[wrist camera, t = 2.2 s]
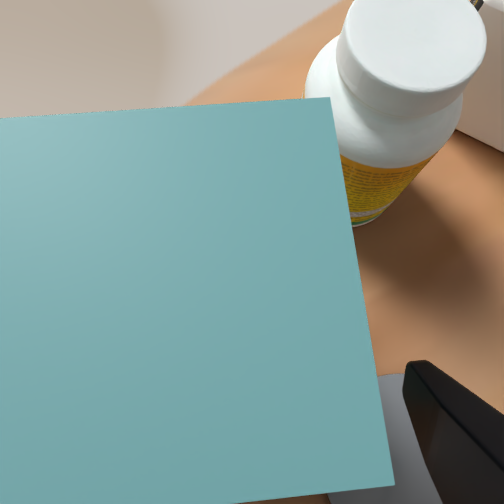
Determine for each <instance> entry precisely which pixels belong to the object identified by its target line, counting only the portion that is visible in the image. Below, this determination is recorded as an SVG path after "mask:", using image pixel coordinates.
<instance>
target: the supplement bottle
mask: <svg viewBox="0 0 504 504" xmlns="http://www.w3.org/2000/svg"><path fill="white" fill-rule="evenodd" d="M486 46H487V35H486V30H485V26H484V23H483V21H482V18H481V17H480V15H479V13H478V12H477V10H476V9H475V7H474V6H473V5H472V4H471V3H470V1H469V0H354V2H353V3H352V5H351V7H350V8H349V11H348V13H347V16H346V19H345V22H344V25H343V28H342V31H341V34H340V35H338V36H337V37H335V38H334V39H333V40H331V41H330V42H329V43H328V44H327V45H326V46H325V47H324V48H323V49H322V50H321V51H320V52H319V54H318V55H317V57H316V58H315V60H314V61H313V63H312V65H311V67H310V70H309V73H308V75H307V79H306V83H305V86H304V90H303V95H302V99H305V98H320V97H330V100H331V106H332V111H333V117H334V123H335V129H336V135H337V141H338V147H339V153H340V159H341V165H342V171H343V177H344V183H345V189H346V195H347V201H348V207H349V213H350V219H351V225H352V227H356V226H360V225H364V224H366V223H368V222H371V221H373V220H374V219H376V218H377V217H378V216H380V215H381V214H382V213H383V212H384V211H385V210H386V209H387V208H388V207H389V206H390V204H391V203H392V202H393V201H394V200H395V199H396V198H397V197H398V196H399V195H400V194H401V192H402V191H403V190H404V189H405V188H406V187H407V186H408V185H409V184H410V182H411V181H412V180H413V179H414V178H415V177H416V176H417V174H418V173H419V172H420V171H421V170H422V169H423V168H424V167H425V166H426V165H427V163H428V162H429V161H430V160H431V159H432V158H433V157H434V156H435V154H436V153H437V152H438V151H439V150H440V149H441V148H442V147H443V146H444V145H445V143H446V142H447V141H448V140H449V138H450V137H451V135H452V134H453V132H454V130H455V128H456V126H457V124H458V121H459V119H460V115H461V111H462V103H463V93H462V92H463V90H464V89H465V87H466V86H467V84H468V83H469V81H470V80H471V79H472V77H473V76H474V74H475V73H476V72H477V70H478V69H479V67H480V65H481V63H482V61H483V59H484V56H485V53H486Z"/></svg>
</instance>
